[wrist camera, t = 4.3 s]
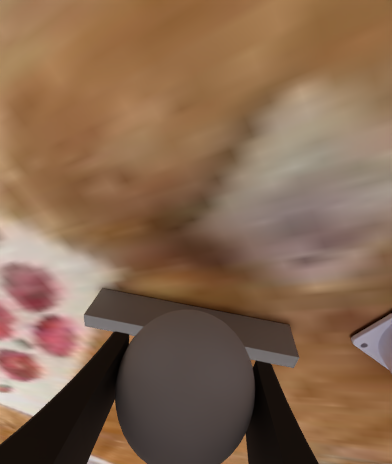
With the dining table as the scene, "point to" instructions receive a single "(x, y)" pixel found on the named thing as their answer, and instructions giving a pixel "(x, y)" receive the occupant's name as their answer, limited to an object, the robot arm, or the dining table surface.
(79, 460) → the robot arm
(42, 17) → the dining table surface
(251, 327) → the low wall
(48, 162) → the dining table surface
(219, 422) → the ball
